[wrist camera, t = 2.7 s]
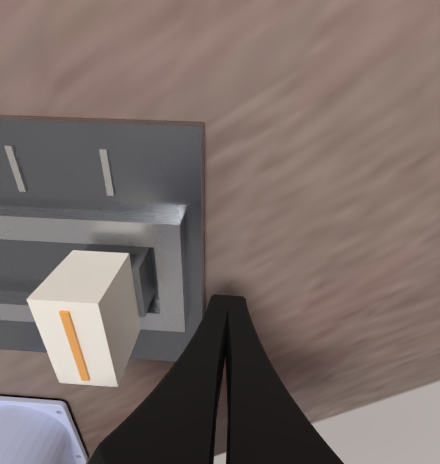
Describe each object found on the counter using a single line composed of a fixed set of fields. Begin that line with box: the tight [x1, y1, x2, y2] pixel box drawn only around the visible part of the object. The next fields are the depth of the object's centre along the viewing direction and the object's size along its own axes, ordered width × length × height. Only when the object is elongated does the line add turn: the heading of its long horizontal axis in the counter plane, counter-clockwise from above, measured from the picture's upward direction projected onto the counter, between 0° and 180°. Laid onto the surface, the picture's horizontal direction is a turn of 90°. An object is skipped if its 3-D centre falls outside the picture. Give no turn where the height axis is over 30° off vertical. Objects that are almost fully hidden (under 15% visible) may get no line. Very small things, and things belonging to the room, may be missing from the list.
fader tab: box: [26, 244, 155, 387], centre depth 13 cm, size 4×3×5 cm
